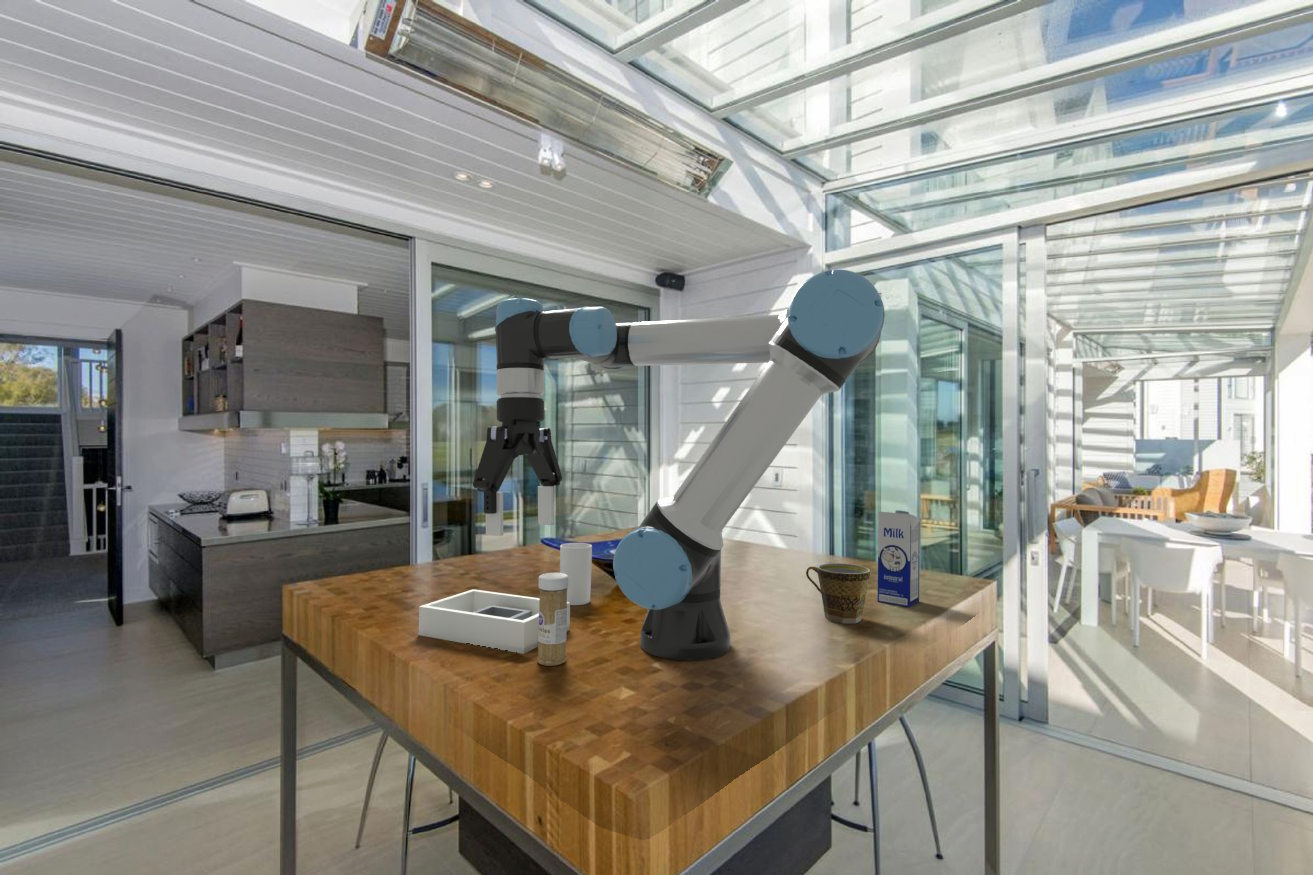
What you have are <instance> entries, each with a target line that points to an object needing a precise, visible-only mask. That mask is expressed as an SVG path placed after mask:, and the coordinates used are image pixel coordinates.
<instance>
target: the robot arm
mask: <svg viewBox="0 0 1313 875" xmlns="http://www.w3.org/2000/svg"><path fill="white" fill-rule="evenodd" d="M885 314H886V312H885V305H884V302H883V299H882V297H881V295H880V293H879V291H878V289H877V288H876V286H875V285H874V284H873V283H872V282H871V281H870V280H869V279H867V278H866V277H865V276H863V275H861V274H859V273H858V272H854V271H853V270H852V271H851V270H848V269H847V270H846V269H829V270H825V271H821V272H819V273H816V274H814V275H812V276H810V277H809V278H807V279H806V280H805V281H804V282H803V283H801V285H800V286H798V288H797V290H796V291H795V293H794V294H793V296H792V298H791V301H790V302H789V306H788V307H787V308H786V309H785V310H784V311H783V312H782V313H781V314H770V315H750V316H748V315H747V316H734V317H733V316H732V317H731V316H730V317H714V318H713V317H711V318H695V319H694V318H693V319H691V318H690V319H676V320H674V319H673V320H657V321H654V320H652V321H641V322H640V321H638V322H637V321H635V322H619V323H618V322H617V323H616V320H615V317H614V316H613V315H612V312H611V311H610V310H609V309H608V308H607V307H604V306H588V305H587V306H583V307H582V306H581V307H578V308H567V309H559V310H558V309H557V310H548V311H547V310H546V311H544V307H543V304H542V303H541V302H540V301H538V300H535V299H531V298H508V299H504V300H501V301H500V302H499V303H498V304H497V306H496V315H495V325H494V332H495V344H496V346H495V347H496V394H497V395H498V396H499V397H500V398H498V399H497V400H496V420H497V421H498V422H500V423H501V425H497V426H496V425H494V426H493V425H491V426H488V427H487V429H486V442H485V445H484V448H483V450H482V454H481V457H480V460H479V464H478V465H477V470H476V472H475V475H474V479H473V483H472V486H473V488H474V489H476V490H477V491H478V492H480V493H482V492H483V512H484V514H485V536H496V537H497V536H498V537H502V536H504V492H503V491H499V490H500V489H501V487H502V485H503V482H504V480H505V479H506V476H507V475H508V473H509V470H510V469H511V466H512V464H513V462H514V461H515V459H516V458H518V457H519V456H523V457H525V458H527V460H528V462H529V463H530V466H531V467H532V469H533V471H534V473H535V476H536V477H537V479H538V481H539V483H540V485H538V486H537V524H538V525H541V526H542V525H544V526H547V525H548V526H553V525H555V507H554V506H555V486H557V487H559V486H560V485H561V482H562V481H563V480H562V479H563V476H562V472H561V470H560V469H561V468H560V465H559V462H558V459H557V458H558V457H557V454H556V451H555V448H554V445H553V442H552V431H551V428H550V427H539V423H542V422H543V421H544V420H545V400H544V399H543V398H542V396H544V395H545V372H544V370H545V367H544V366H545V360H555V359H578V360H580V361H584V362H588V363H591V364H594V365H597V366H600V367H602V368H604V369H606V370H622V369H625V368H627V367H636V366H637V367H640V366H641V367H643V366H680V365H681V366H683V365H685V366H687V365H689V366H691V365H724V364H731V365H732V364H760V363H761V364H763V363H765V364H766V365H765V366H764V368H763V369H762V371H761V372H760V374H758V376H757V378H756V379H755V381H754V382H753V384H752V385H750V388H749V389H748V390H747V392H746V393H745V395H744V396H743V397H742V399H741V400H740V402H739V403H738V405H736V407H735V408H734V410H733V411H732V413H731V414H730V416H729V417H728V419H727V420H726V422H724V424H723V426H722V427H721V428H720V430H719V431H718V433H717V434H716V436H715V437H714V438H713V439H712V441H711V442H710V444H709V445H708V446H707V448H706V449H705V451H704V453H703V454H702V455H701V456H700V457H699V459H698V461H697V462H696V463H695V465H694V466H693V468H692V469H691V471H690V472H689V473H688V475H687V477H685V479H684V481H683V482H682V483H681V485H680V486H679V487H678V489H677V490H676V492H675V493H674V494H673V495H671V496H666V497H660V498H658V499H657V501H655V504H654V505H653V506H652V508H651V509H650V510H649V512H648V513H647V515H646V516H645V518H644V519H643V520H642V521H641V522H640V524H639V526H638V527H637V528H634V529H632V530H631V531H630V532H627V534H626V535H625V536H624V537H623V538H622V539H621V541H619V542H618V545H617V547H616V549H615V551H614V554H613V560H612V569H613V573H614V576H615V577H614V578H615V581H616V583H617V585H618V587H619V589H620V591H621V593H622V594H623V595H624V596H625V597H626V598H627V599H628V600H629V601H630V602H632V603H634V604H635V605H637V606H639V607H641V608H644V609H647V612H646V614H645V617H644V620H643V624H642V626H641V630H640V642H639V643H640V647H641V649H642V650H643V651H644V652H646V653H648V654H650V655H653V656H656V657H660V658H663V659H669V660H676V661H701V660H702V661H703V660H709V659H715V658H719V657H721V656H724V655H725V654H727V653H728V652H729V651H730V649H731V632H730V629H729V628H730V627H729V626H728V622H727V618H726V615H725V611H724V608H723V605H722V602H721V601H722V600H721V585H722V584H721V583H722V582H721V581H722V578H721V577H722V576H721V573H722V571H721V570H722V569H721V568H722V549H723V547H724V540H723V529H724V528H725V527H726V525H727V524H728V523H729V522H730V520H731V519H732V518H733V516H734V515H735V513H736V512H737V511H738V510H739V508H740V506H741V505H743V503H744V502H745V500H746V498H747V497H748V496H749V494H750V493H751V491H752V490H753V489H754V487H755V486H756V484H757V483H758V482H759V481H760V480H761V478H762V477H763V475H764V474H765V473H766V472H767V470H768V468H769V467H770V466H771V464H772V463H773V462H774V460H775V459H776V458H777V457H778V455H779V454H780V452H781V451H782V449H783V448H784V447H785V445H786V444H787V443H788V441H789V440H790V439H791V437H792V436H793V435H794V433H795V431H797V429H798V428H799V427H800V425H801V424H802V422H803V421H804V419H805V418H806V416H808V414H809V413H810V411H811V410H812V409H813V407H814V406H815V404H816V403H817V402H818V400H819V399H820V398H821V397H822V396H823V395H826V394H830V393H835V392H839V391H840V390H841V388H842V387H843V385H845V383H846V382H847V380H848V379H849V378H850V376H851V375H852V374H853V373H854V371H855V370H856V368H857V367H858V366H859V365H861V364H862V363H864V362H865V361H867V360H868V359H869V358H870V357H871V355H873V353H874V352H875V350H876V348H877V346H878V344H879V342H880V339H881V333H882V330H883V327H884V323H885Z"/></svg>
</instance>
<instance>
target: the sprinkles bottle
mask: <svg viewBox="0 0 1313 875" xmlns="http://www.w3.org/2000/svg"><path fill="white" fill-rule="evenodd" d="M567 587H568V575H566V574H564V573H560V572H546V573H542V574H540V575H539V576H538V590H539V598H540V603H539V628H538V641H539V642H538V647H537V658H536V660H537V663H538V664H540V665H542V666H547V667H551V666H553V667H555V666H559V665H562V664H564V663H566V662H567V635H568V634H567V632H568V631H567Z"/></svg>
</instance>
